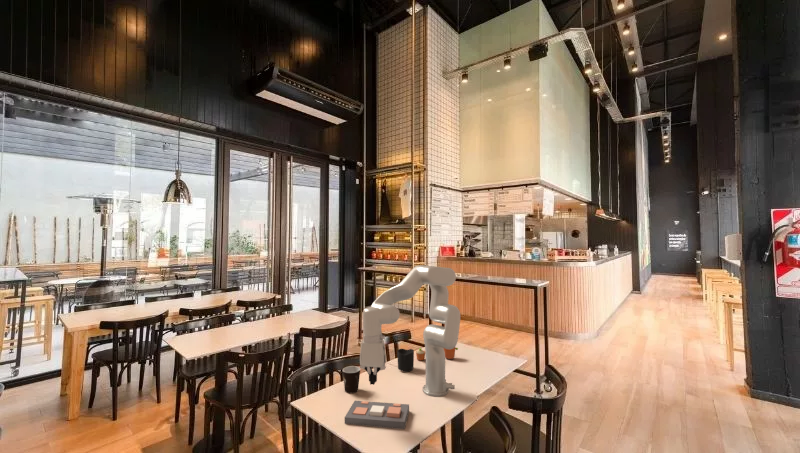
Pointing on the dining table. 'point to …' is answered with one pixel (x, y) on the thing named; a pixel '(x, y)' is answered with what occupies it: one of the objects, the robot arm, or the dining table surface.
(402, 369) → the pen holder
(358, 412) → the key
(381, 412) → the key middle
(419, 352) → the potted plants
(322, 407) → the dining table surface
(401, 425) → the keypad housing
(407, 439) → the dining table surface
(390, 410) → the key
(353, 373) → the coffee mug
